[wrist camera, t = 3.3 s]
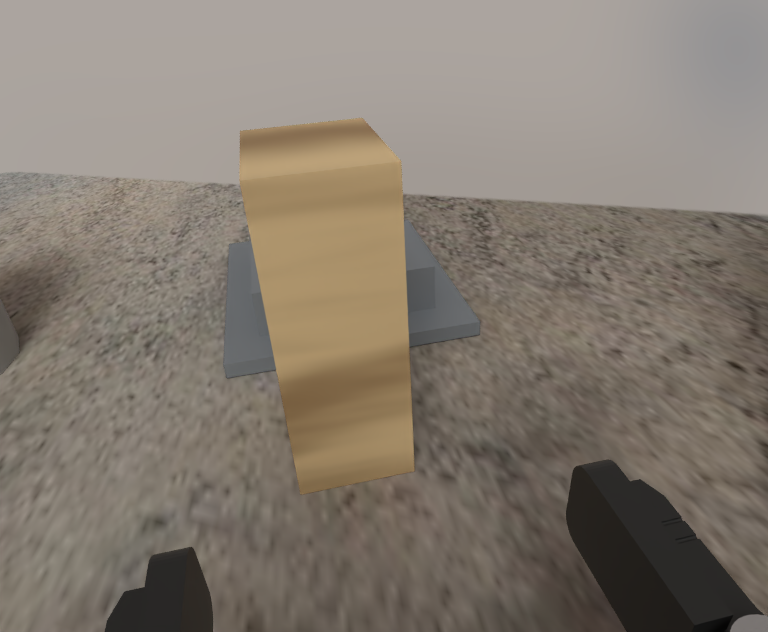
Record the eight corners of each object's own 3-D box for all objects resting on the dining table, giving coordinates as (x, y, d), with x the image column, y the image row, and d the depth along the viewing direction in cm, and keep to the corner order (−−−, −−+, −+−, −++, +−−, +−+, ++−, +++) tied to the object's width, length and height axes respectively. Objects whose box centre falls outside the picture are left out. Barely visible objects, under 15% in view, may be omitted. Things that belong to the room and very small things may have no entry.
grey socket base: (479, 334, 30) (481, 278, 28) (226, 378, 28) (212, 320, 26) (408, 229, 42) (406, 186, 41) (231, 254, 40) (221, 210, 39)
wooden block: (414, 471, 22) (401, 161, 16) (300, 494, 21) (239, 180, 15) (382, 379, 27) (362, 117, 21) (289, 396, 26) (240, 130, 20)
